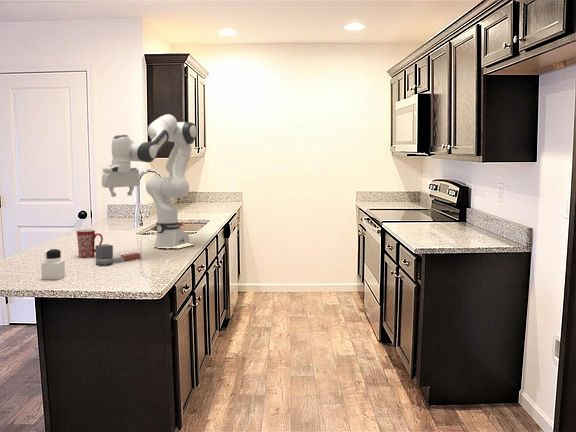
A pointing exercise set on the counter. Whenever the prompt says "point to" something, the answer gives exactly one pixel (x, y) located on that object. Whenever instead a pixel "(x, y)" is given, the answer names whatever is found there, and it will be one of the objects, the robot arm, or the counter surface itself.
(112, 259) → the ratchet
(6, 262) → the counter surface
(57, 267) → the medicine bottle
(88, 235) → the mug
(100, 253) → the matte grey cube
